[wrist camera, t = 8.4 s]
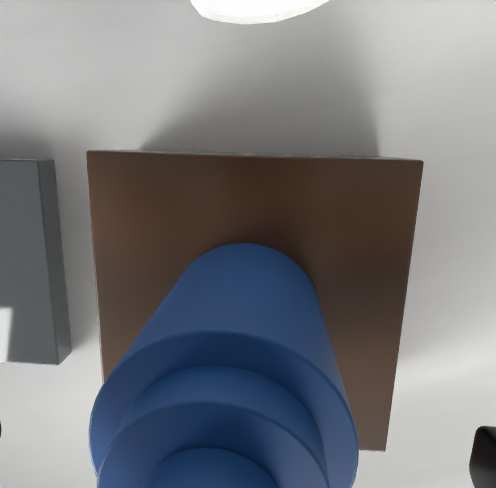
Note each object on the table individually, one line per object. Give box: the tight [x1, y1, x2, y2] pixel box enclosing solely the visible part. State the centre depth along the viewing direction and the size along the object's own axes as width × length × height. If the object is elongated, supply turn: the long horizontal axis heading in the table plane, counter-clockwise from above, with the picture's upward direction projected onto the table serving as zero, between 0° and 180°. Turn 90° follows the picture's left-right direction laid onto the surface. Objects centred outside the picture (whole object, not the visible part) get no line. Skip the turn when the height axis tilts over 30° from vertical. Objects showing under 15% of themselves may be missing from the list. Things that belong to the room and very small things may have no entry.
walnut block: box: [86, 150, 424, 452], centre depth 15 cm, size 10×10×4 cm
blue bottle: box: [89, 243, 359, 488], centre depth 8 cm, size 5×5×9 cm
